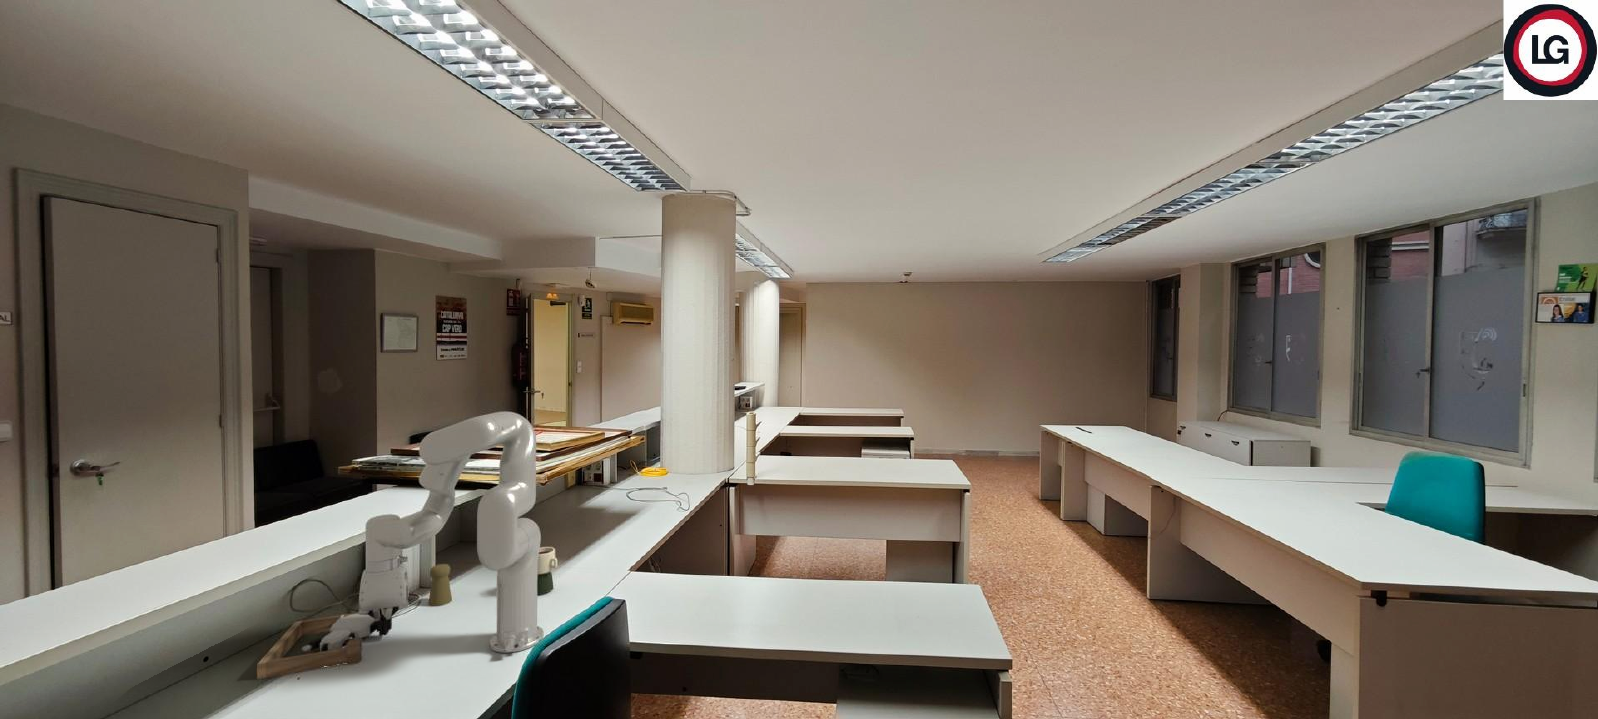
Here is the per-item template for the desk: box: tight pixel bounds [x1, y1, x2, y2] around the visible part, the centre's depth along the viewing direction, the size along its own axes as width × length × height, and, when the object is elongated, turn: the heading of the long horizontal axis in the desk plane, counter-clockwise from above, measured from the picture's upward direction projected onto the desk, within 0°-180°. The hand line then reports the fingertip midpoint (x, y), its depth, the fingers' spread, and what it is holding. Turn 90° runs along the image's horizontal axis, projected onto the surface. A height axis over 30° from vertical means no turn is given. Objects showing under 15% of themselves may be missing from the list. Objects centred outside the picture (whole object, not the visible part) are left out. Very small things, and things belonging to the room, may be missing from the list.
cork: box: [427, 563, 453, 607], centre depth 170 cm, size 6×6×11 cm
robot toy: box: [301, 614, 377, 652], centre depth 146 cm, size 12×4×15 cm
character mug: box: [537, 546, 558, 595], centre depth 178 cm, size 11×7×13 cm, turn 72°
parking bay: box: [256, 608, 385, 680], centre depth 144 cm, size 23×19×5 cm
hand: (384, 632), depth 149 cm, fingers closed
